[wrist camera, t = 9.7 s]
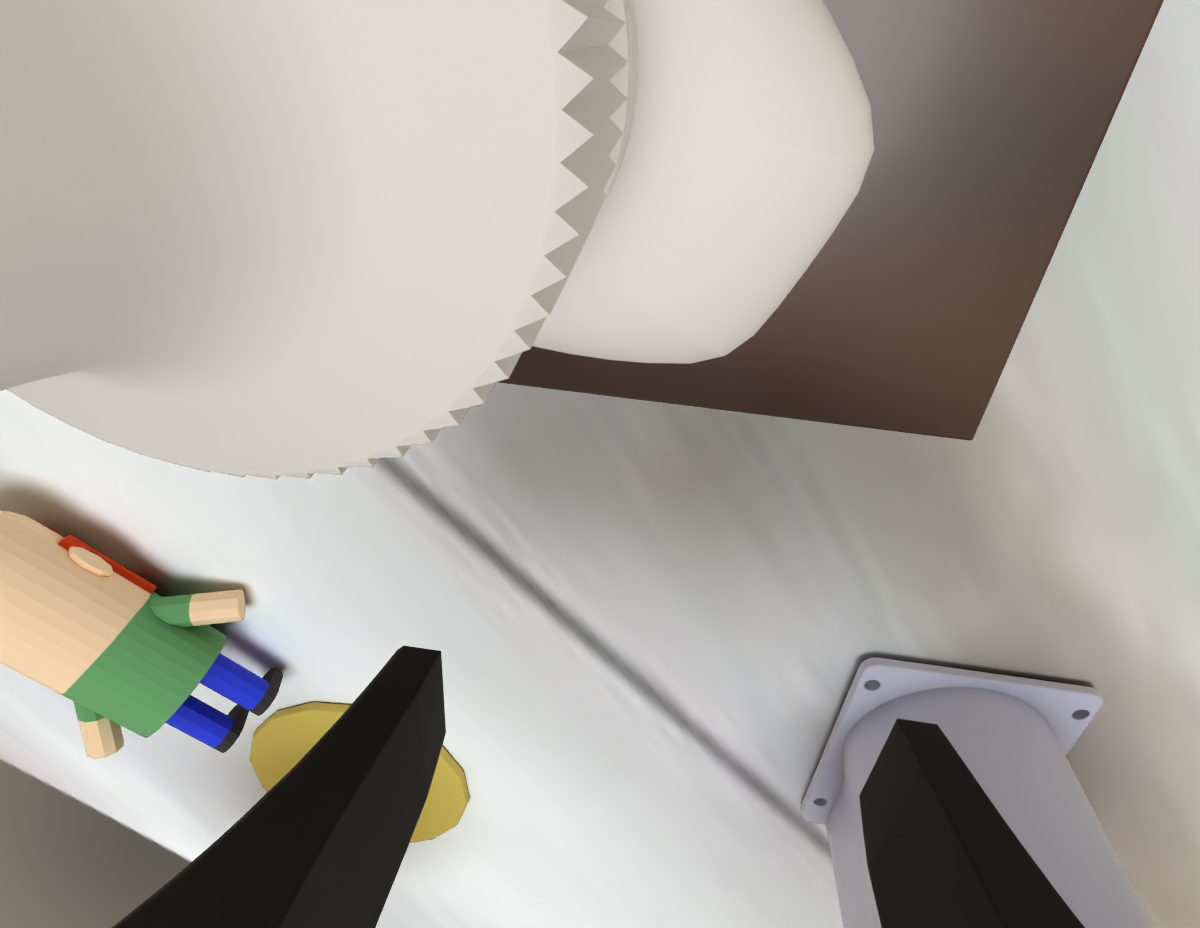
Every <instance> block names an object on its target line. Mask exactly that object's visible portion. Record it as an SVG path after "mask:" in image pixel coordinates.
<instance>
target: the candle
mask: <svg viewBox="0 0 1200 928" xmlns="http://www.w3.org/2000/svg"><path fill="white" fill-rule="evenodd" d="M350 706H351V705H345V704H331V703H318V702H311V703H307V704H303V705H299V706H295V707H291V708H287V709H283V710H279V711H276V712H275V713H274V714H273V715H272V716H271V717H270V718H268V719H267V720H266V721H265V722H264V723H263V724H262V725H261V726H260V727H258V728H257V729H256V731H255V732H254V735H253V742H252V749H251V756H250V762H251V764H252V766H253V768H254V770H255V772H256V774H257V776H258V778H259V780H260V782H261V784H262V787H264V788H265V789H266V790H267V791H270V790H271V789H272V788H273V787H274V786H275V785H276V784H277V783H278V782H279V781H280V780H281V779H282V778H283V777H284V776H285V775H286V774H287V773H288V772H289V771H290V770H291V769H292V768H293V767H294V766H295V765H296V764H297V763H298V762H299V761H300V760H301V759H302V758H303V757H304V756H305V754H306V753H307V752H308V751H309V750H310V749H311V748H312V747H313V746H314V745H315V744H316V743H317V742H318V741H319V740H320V738H321V737H322V736H323V735H324V734H325V733H326V732H327V731H328V730H329V729H330V728H331V727H332V726H333V725H334V723H335V722H336V721H337V720H338V719H339V718H340V717H341V716H342V715H343V714H344V712H345V711H346V710H347V709H348V708H349V707H350ZM469 798H470V797H469V793H468V788H467V784H466V779H465V775H464V771H463V770H462V769H461V767H460V766H459V765H458V764H457V763H456V762H455V760H454V759H453V758H452V757H451V756H450V754H449V753H448V752H447V751H446V750H445V748H444V747H443V746H442V748H441V751H440V755H439V759H438V762H437V766H436V769H435V773H434V776H433V780H432V783H431V786H430V790H429V793H428V797H427V799H426V802H425V804H424V807H423V809H422V812H421V815H420V817H419V820H418V822H417V825H416V827H415V830H414V832H413V835H412V837H411V840H410V842H409V843H412V842H418V841H425V840H431V839H434V838H435V837H437V836H439V835H441V834H442V833H444V832H446V831H448V830H449V829H451V828H453V827H454V826H456V825H457V824H458V822H459V820H460V818H461V816H462V814H463V812H464V810H465V808H466V806H467V804H468V801H469Z"/></svg>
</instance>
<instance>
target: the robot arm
mask: <svg viewBox="0 0 1200 928" xmlns="http://www.w3.org/2000/svg"><path fill="white" fill-rule="evenodd" d="M870 680H873V681H870ZM1102 705H1103V699H1102V697H1101V695H1100V694H1099V692H1098V691H1097V690H1096V689H1095V688H1091V687H1087V686H1079V685H1072V684H1065V683H1058V682H1051V681H1043V680H1036V679H1029V678H1022V677H1015V676H1007V675H1000V674H993V673H986V672H979V671H971V670H964V669H957V668H950V667H943V666H935V665H928V664H921V663H914V662H907V661H899V660H892V659H885V658H875V657H872V658H869V659H866V660H865V661H863V662H862V663H861V664H860V666H859V668H858V671H857V673H856V675H855V678H854V680H853V683H852V685H851V687H850V690H849V692H848V695H847V697H846V699H845V702H844V704H843V706H842V709H841V711H840V714H839V716H838V718H837V721H836V723H835V726H834V728H833V730H832V733H831V735H830V738H829V740H828V742H827V745H826V747H825V750H824V752H823V754H822V757H821V759H820V761H819V764H818V766H817V769H816V771H815V773H814V776H813V778H812V781H811V783H810V785H809V788H808V790H807V793H806V795H805V797H804V800H803V802H802V805H801V815H802V817H803V819H805V820H806V821H808V822H812V823H819V824H826V828H827V834H828V839H829V845H830V851H831V857H832V863H833V868H834V874H835V880H836V886H837V892H838V897H839V903H840V909H841V915H842V921H843V926H844V928H1155V927H1154V925H1153V923H1152V921H1151V919H1150V917H1149V915H1148V914H1147V912H1146V910H1145V908H1144V906H1143V904H1142V902H1141V900H1140V898H1139V896H1138V894H1137V892H1136V890H1135V889H1134V887H1133V885H1132V883H1131V881H1130V879H1129V877H1128V875H1127V873H1126V871H1125V869H1124V867H1123V865H1122V864H1121V862H1120V860H1119V858H1118V856H1117V854H1116V852H1115V850H1114V848H1113V846H1112V844H1111V842H1110V840H1109V839H1108V837H1107V835H1106V833H1105V831H1104V829H1103V827H1102V825H1101V823H1100V821H1099V819H1098V817H1097V815H1096V814H1095V812H1094V810H1093V808H1092V806H1091V804H1090V802H1089V800H1088V798H1087V796H1086V794H1085V792H1084V790H1083V789H1082V787H1081V785H1080V783H1079V781H1078V779H1077V777H1076V775H1075V773H1074V771H1073V769H1072V767H1071V765H1070V764H1069V762H1068V760H1067V758H1066V755H1067V753H1068V752H1069V750H1070V749H1071V748H1072V746H1073V745H1074V744H1075V742H1076V741H1077V740H1078V738H1079V737H1080V735H1081V734H1082V733H1083V731H1084V730H1085V729H1086V727H1087V726H1088V724H1089V723H1090V722H1091V720H1092V719H1093V718H1094V716H1095V715H1096V714H1097V712H1098V711H1099V709H1100V708H1101V707H1102ZM445 733H446V729H445V711H444V694H443V677H442V660H441V651H437V650H430V649H423V648H416V647H409V646H403V647H401V648H400V649H398V650H397V651H396V652H395V654H394V655H393V656H392V657H391V659H390V660H389V661H388V662H387V663H386V665H385V666H384V667H383V668H382V670H381V671H380V672H379V673H378V674H377V676H376V677H375V678H374V679H373V680H372V681H371V683H370V684H369V685H368V686H367V687H366V689H365V690H364V691H363V692H362V693H361V694H360V695H359V697H358V698H357V699H356V700H355V701H354V702H353V703H352V705H351V706H350V707H349V708H348V709H347V710H346V711H345V712H344V714H343V715H342V716H341V717H340V718H339V719H338V720H337V721H336V722H335V723H334V725H333V726H332V727H331V728H330V729H329V730H328V731H327V732H326V733H325V734H324V735H323V736H322V737H321V738H320V740H319V741H318V742H317V743H316V744H315V745H314V746H313V747H312V748H311V749H310V750H309V751H308V752H307V753H306V754H305V756H304V757H303V758H302V759H301V760H300V761H299V762H298V763H297V764H296V765H295V766H294V767H293V768H292V769H291V770H290V771H289V772H288V773H287V774H286V775H285V776H284V777H283V778H282V779H281V780H280V781H279V782H278V783H277V784H276V785H275V786H274V787H273V788H272V789H271V790H270V791H268V792H267V793H266V794H265V795H264V796H263V797H262V798H261V799H260V800H259V801H258V802H257V803H256V804H255V805H254V806H253V807H252V808H251V809H250V810H249V811H248V812H247V813H246V814H245V815H244V816H243V817H242V818H241V819H240V820H238V821H237V822H236V823H235V824H234V825H233V826H232V827H231V828H230V829H229V830H228V831H226V832H225V833H224V834H223V835H222V836H221V837H220V838H219V839H218V840H217V841H215V842H214V843H213V844H212V845H211V846H210V847H209V848H208V849H206V850H205V851H204V852H203V853H202V854H201V855H199V856H198V857H197V858H196V859H195V860H194V861H193V862H191V863H190V864H189V865H188V866H187V867H186V868H184V869H183V870H182V871H181V872H180V873H179V874H177V876H175V877H174V878H173V879H172V880H170V881H169V882H168V883H167V884H166V885H164V886H163V887H162V888H161V889H159V890H158V891H157V892H156V893H154V894H153V895H152V896H151V897H149V898H148V899H147V900H146V901H145V902H143V903H142V904H141V905H140V906H138V907H137V908H136V909H135V910H133V911H132V912H131V913H130V914H128V915H127V916H126V917H125V918H124V919H122V920H121V921H120V922H119V923H117V924H116V925H115V926H114V927H112V928H375V927H376V924H377V922H378V919H379V917H380V914H381V912H382V909H383V907H384V904H385V902H386V899H387V897H388V895H389V892H390V890H391V887H392V885H393V882H394V880H395V877H396V875H397V872H398V870H399V867H400V865H401V862H402V860H403V857H404V855H405V852H406V850H407V847H408V845H409V842H410V840H411V837H412V835H413V832H414V830H415V827H416V825H417V822H418V820H419V817H420V815H421V812H422V809H423V807H424V804H425V802H426V799H427V797H428V793H429V790H430V786H431V783H432V780H433V776H434V773H435V769H436V766H437V762H438V759H439V755H440V751H441V748H442V744H443V741H444V737H445Z"/></svg>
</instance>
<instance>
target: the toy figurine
mask: <svg viewBox="0 0 1200 928" xmlns="http://www.w3.org/2000/svg"><path fill="white" fill-rule="evenodd" d="M156 588H157V586H156V585H154V584H152V583H151V582H149V581H147V580H146V579H144V578H142V577H141V576H139V575H137V574H135V573H133V572H132V571H130V570H128V569H127V568H125V567H123V566H122V565H120V564H118V563H117V562H115V561H114V560H112V559H110V558H109V557H107V556H105V555H104V554H102V553H100V552H99V551H97V550H95V549H94V548H92V547H91V546H89V545H87V544H86V543H84V542H82V541H81V540H79V539H77V538H76V537H74V536H72V535H71V534H69V535H68V536H67V537H65V538H64V537H62V536H61V535H59V534H57V531H55V530H53V529H51V528H49V527H48V528H47V527H45V526H43V525H41V524H40V523H38V522H36V521H34V520H33V519H31V518H29V517H28V516H24V515H21V514H17V513H14V512H8V511H0V663H1V664H3V665H5V666H7V667H9V668H11V669H13V670H15V671H17V672H19V673H21V674H22V675H24V676H26V677H28V678H30V679H32V680H34V681H36V682H38V683H40V684H42V685H44V686H46V687H48V688H49V689H51V690H53V691H55V692H57V693H59V694H61V695H63V696H65V697H67V698H69V699H71V700H73V701H74V705H75V709H76V713H77V717H78V721H79V725H80V729H81V733H82V737H83V741H84V746H85V750H86V754H87V757H90V758H92V759H98V758H105V757H107V756H109V755H112V754H114V753H116V752H117V751H118V750H119V749H120V748H121V747H122V746H124V739H123V735H122V731H121V726H123V727H125V728H127V729H129V730H131V731H133V732H135V733H137V734H139V735H141V736H143V737H145V738H147V737H149V736H151V735H152V734H153V733H155V732H156V731H157V730H158V729H159V728H160V727H161V726H162V725H163V724H164V723H167V724H169V725H171V726H173V727H175V728H177V729H178V730H180V731H182V732H184V733H186V734H188V735H190V736H192V737H194V738H195V739H197V740H199V741H201V742H203V743H205V744H207V745H209V746H210V747H212V748H214V749H216V750H218V751H220V752H222V753H224V752H226V751H227V750H228V749H229V748H230V747H231V746H232V745H233V744H234V742H235V741H236V740H237V738H238V737H239V735H240V733H241V731H242V729H243V727H244V724H245V721H246V718H247V715H248V713H249V711H251V712H252V713H254V714H256V715H258V716H259V715H261V714H263V713H264V712H265V711H266V710H267V709H268V708H269V706H270V705H271V703H272V702H273V700H274V699H275V697H276V695H277V693H278V691H279V687H280V684H281V681H282V677H283V673H282V672H280V671H278V670H277V669H275V668H272V669H271V670H269V671H268V672H267V673H266V674H265V676H264V677H263V678H260V677H259V676H257V675H255V674H253V673H252V672H250V671H248V670H247V669H245V668H243V667H242V666H240V665H238V664H237V663H235V662H233V661H232V660H230V659H228V658H226V657H225V656H223V655H221V654H220V651H221V650H222V648H223V646H224V644H225V641H226V637H227V636H226V635H225V634H223V633H221V632H220V631H218V630H216V629H215V628H213V627H211V626H210V625H208V624H217V623H226V622H235V621H242V620H243V619H244V616H245V604H246V602H245V595H244V592H243V590H242V589H238V590H228V591H218V592H208V593H198V594H188V595H178V596H168V597H162V596H160V595H159V594H157V593H155V592H154V590H155V589H156ZM199 683H201V684H203V685H205V686H206V687H208V688H210V689H212V690H214V691H215V692H217V693H219V694H221V695H222V696H224V697H226V698H228V699H229V700H231V701H233V702H235V703H236V704H237V705H236V706H235V707H234V708H233V709H232V710H231V711H230V712H229V714H228V715H225V714H224V713H222V712H220V711H218V710H216V709H215V708H213V707H211V706H209V705H207V704H206V703H204V702H202V701H200V700H198V699H197V698H195V697H193V696H191V695H190V694H191V693H192V692H193V690H194V689H195V688H196V686H197V685H198V684H199ZM120 725H121V726H120Z"/></svg>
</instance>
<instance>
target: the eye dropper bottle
mask: <svg viewBox="0 0 1200 928" xmlns="http://www.w3.org/2000/svg"><path fill="white" fill-rule="evenodd" d="M873 152H874V140H873V128H872V115H871V105H870V102H869V99H868V97H867V94H866V91H865V89H864V86H863V83H862V81H861V78H860V76H859V73H858V70H857V68H856V65H855V62H854V60H853V57H852V55H851V53H850V51H849V49H848V47H847V45H846V43H845V41H844V39H843V37H842V35H841V33H840V31H839V30H838V28H837V26H836V24H835V22H834V20H833V18H832V16H831V14H830V12H829V10H828V8H827V6H826V5H825V3H824V1H823V0H0V391H1V390H5V389H7V390H8V391H10V392H12V393H13V394H15V395H17V396H18V397H20V398H21V399H23V400H25V401H26V402H28V403H29V404H31V405H33V406H34V407H36V408H38V409H40V410H42V411H44V412H46V413H48V414H50V415H51V416H53V417H55V418H57V419H59V420H61V421H63V422H64V423H66V424H68V425H70V426H72V427H75V428H77V429H79V430H82V431H84V432H86V433H88V434H90V435H93V436H95V437H97V438H99V439H101V440H104V441H106V442H108V443H112V444H115V445H117V446H120V447H123V448H125V449H128V450H131V451H133V452H136V453H139V454H141V455H145V456H148V457H152V458H156V459H159V460H163V461H167V462H170V463H173V464H177V465H181V466H186V467H190V468H194V469H199V470H203V471H207V472H210V471H213V472H218V473H223V474H229V475H234V476H239V477H244V476H245V475H249V476H256V477H263V478H270V479H278V478H279V477H280V476H287V477H297V478H307V479H310V478H311V477H312V475H313V474H314V473H319V474H337V475H342V474H343V472H344V471H345V470H346V469H347V467H369V468H373V466H374V465H375V464H376V462H377V461H378V460H379V458H390V457H403V456H404V454H405V453H406V451H407V450H408V448H409V447H410V445H415V444H426V443H432V441H433V440H434V438H435V436H436V435H437V433H438V432H439V430H440V428H444V427H451V426H457V425H459V424H460V423H461V421H462V419H463V417H464V416H465V414H466V412H467V410H468V409H469V407H472V406H477V405H482V404H485V402H486V401H487V399H488V397H489V395H490V393H491V391H492V390H493V388H494V386H495V384H496V382H498V381H501V380H505V379H509V377H510V375H511V373H512V371H513V369H514V367H515V365H516V363H517V361H518V360H519V358H520V356H521V354H522V352H523V351H526V350H529V349H531V347H532V346H534V347H539V348H544V349H549V350H553V351H558V352H563V353H568V354H574V355H581V356H587V357H594V358H600V359H607V360H617V361H629V362H641V363H683V364H691V363H696V362H700V361H704V360H709V359H713V358H718V357H722V356H726V355H727V354H729V353H730V352H731V351H733V350H734V349H735V348H737V347H738V346H740V345H741V344H742V343H744V342H745V341H747V340H748V339H749V338H751V337H752V336H754V335H755V333H756V332H757V331H758V330H759V329H760V328H761V326H762V325H763V324H764V323H765V322H766V321H767V319H768V318H769V317H770V316H771V315H772V314H773V312H774V311H775V310H776V309H777V308H778V307H779V305H780V304H781V303H782V301H783V300H784V299H785V298H786V296H787V295H788V294H789V292H790V291H791V290H792V288H793V287H794V286H795V284H796V283H797V282H798V280H799V279H800V278H801V276H802V275H803V274H804V272H805V271H806V270H807V268H808V267H809V266H810V264H811V263H812V261H813V260H814V259H815V257H816V256H817V254H818V253H819V252H820V250H821V249H822V247H823V246H824V245H825V243H826V242H827V240H828V239H829V238H830V236H831V235H832V233H833V232H834V230H835V229H836V227H837V225H838V224H839V222H840V221H841V219H842V217H843V216H844V214H845V213H846V211H847V210H848V208H849V206H850V205H851V203H852V202H853V200H854V199H855V197H856V195H857V194H858V192H859V190H860V187H861V184H862V182H863V179H864V176H865V174H866V171H867V168H868V165H869V163H870V160H871V157H872V155H873Z"/></svg>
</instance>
